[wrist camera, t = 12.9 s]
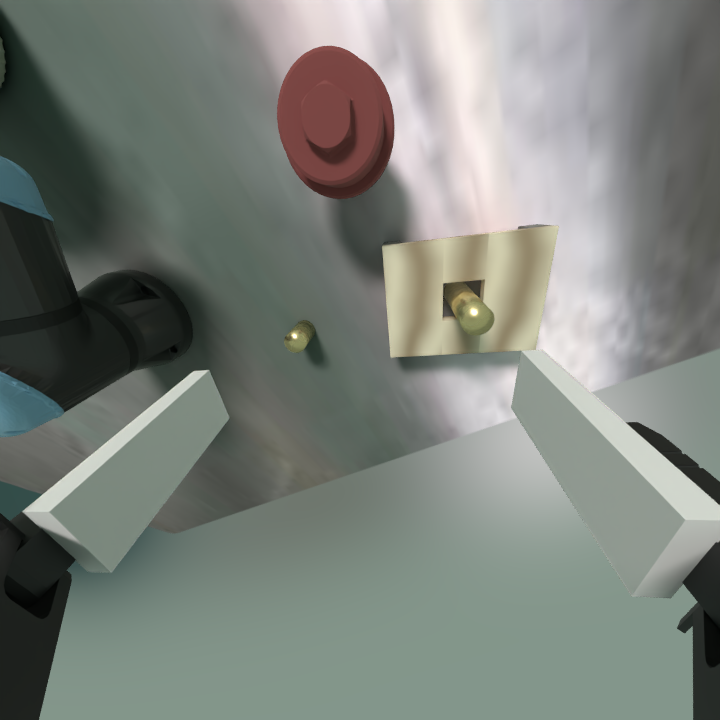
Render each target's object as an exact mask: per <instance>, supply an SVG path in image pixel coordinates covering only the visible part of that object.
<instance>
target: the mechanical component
mask: <svg viewBox="0 0 720 720" xmlns="http://www.w3.org/2000/svg"><path fill="white" fill-rule="evenodd" d="M277 120H278V129H279V133H280V138H281V141H282V144H283V147H284V149H285V151H286V153H287V157H288V159H289V161H290V163H291V166H292V167H293V169H294V171H295V172H296V174H297V175H298V176H299V178H300V179H301V180H302V181H303V182H304V183H305V184H306V185H307V186H308V187H309V188H311V189H312V190H313V191H315V192H317V193H319V194H321V195H323V196H326V197H330V198H335V199H347V198H352V197H355V196H357V195H360V194H362V193H363V192H365V191H367V190H368V189H369V188H370V187H372V186H373V185H374V184H375V183H376V181H377V180H378V179H379V178H380V176H381V175H382V173H383V172H384V170H385V168H386V166H387V164H388V161H389V159H390V156H391V152H392V148H393V141H394V115H393V109H392V104H391V101H390V97H389V94H388V92H387V90H386V87H385V85H384V84H383V82H382V80H381V79H380V77H379V76H378V74H377V73H376V72H375V71H374V69H373V68H371V67H370V66H369V65H368V64H367V63H366V62H364V61H363V60H361V59H359V58H358V57H357V56H355V55H354V54H353V53H351V52H350V51H348V50H345V49H343V48H340V47H335V46H322V47H318V48H314V49H312V50H310V51H308V52H306V53H305V54H304V55H302V56H301V57H300V58H299V59H298V60H297V61H296V62H295V63H294V64H293V65H292V67H291V68H290V70H289V71H288V73H287V75H286V77H285V79H284V81H283V84H282V87H281V90H280V94H279V99H278V107H277Z"/></svg>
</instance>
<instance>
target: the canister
mask: <svg viewBox="0 0 720 720" xmlns="http://www.w3.org/2000/svg"><path fill="white" fill-rule="evenodd" d="M2 42H3V41H2V39H1V37H0V88H1V87H2V82H3V81H4V74H5V73H6V70H5V64H6V61H5V58H4V53H5V51H4V49H3V45H2Z"/></svg>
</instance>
